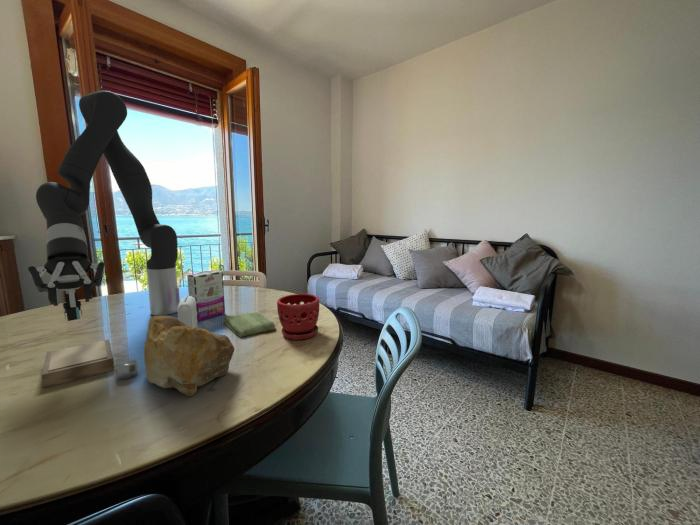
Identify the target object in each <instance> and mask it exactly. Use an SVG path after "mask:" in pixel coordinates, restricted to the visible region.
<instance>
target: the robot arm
mask: <svg viewBox="0 0 700 525" xmlns="http://www.w3.org/2000/svg"><path fill="white" fill-rule="evenodd" d="M78 108H79V111H80V113H81V115H82V117H83V119H84V121H85V123H86V124H87V125H86V126H85V129H84V130H83V131H82V133H80V135H78V137H77V138H76V139H75V140H74V142H72V143H71V145H70V146H69V148H68V149H67V151H66V153H65V154H64V156H63V158H62V160H61V162H60V165H59V167H58V169H57V175H58V176H59V177H60V178H61V179H63V180H64V181H65V182H66V183H67V184H68V185H69V187H70V188H69V187H67V186H66V185H63V184H61V183H59V182H54V181H47V182H44V183H42V184H41V185H40V186H39V187H38V188H37V190H36V194H35V200H36V203H37V206H38V208H39V209H40V212H41V213H42V216H43V217H44V219H45V221H46V236H45V237H46V238H45V246H46V248H45V249H46V263H44V265H43V266H39V267H36V266H34V265H31V266H28V268H27V270H28V272H29V275H30V278H31V279H32V282H33V284H34V285H35V287H36V289H37V292H38V293H44V292H46V293H47V294H48V296H47V298H48V302H49V304H50V305H53V306H54V307H57V306H59V296H58V289H56V288H55V284H53V282H54V281H56V280H58V277H59V276H64V275H79V278H84V279H85V281H84V286H83V292H84V301H85V303H89V302H90V300H92V299H93V297H94V296H93V290H92V289H93V288H94V287H101V285H102V281H103V277H104V273H105V270H106V266H105V265H106V264H105V262H104V261H99V262H98V263H97V262H96V263H94V262H92V261H91V260H90V258H89V252H88V243H87V237H86V234H85V228H84V220H83V217H82V215H84V214H85V213H86V212H87V210H88V208H89V205H90V201H91V200H90V196H91V194H90V193H91V181H92V179H93V177H94V173H95V171H96V169H97V167H98V164H99V162H100V160H101V158H102V156H104V158H105V160H106V162H107V164H108V166H109V168H110V171H111V173H112V175H113V177H114V178H113V179H115V182H116V184H117V187H118V188H119V190H120V192H121V194H122V197H123V198H124V201H125V204H126V205H127V207H128V209H129V211H130V213H131V215H132V218H133V221H134V225H135V227H136V231H137V233H138V236H139V239H140V241H141V243H142V244H143V245H144V246H145V247H147V248H150V258H149V259H148V260H146V275H147V284H148V285H147V287H148V299H149V311H150V315H152V316H168V315H172V314H175V313H178V305H179V303H180V301H181V300H180V288H179V286H178V277H177V267H176V266H177V261H178V255H179V254H178V253H179V252H178V248H179V247H178V244H179V243H178V236H177V232H176V231H175V229H174V228H173V227H172V226H170V225H168V224H162V223H160V221H159V219H158V217H157V215H156V213H155V211H154V206H153V188H152V183H151V181H150V179H149V176H148V174H147V171H146V169H145V167H144V166H143V163H142V162H141V161H140V160H139V158H138V157H137V156H135V154H133V152H132V151H131V150H130V149H129V148H128V147H127V146H126V145H125V143H124V141H123V140H122V137H121V136H120V134H119V132H118V130H119V128H120V127H121V126H122V125H123V124H124V122H125V121H126V119H127V117H128V109H127V106H126V103H125V102H124V99H122V98H121V97H120V96H119V95H117V93H114V92H113V91H109V90H99V91H94V92H91V93H88V94H85V95H83V96H81V97H80V98H79V101H78ZM91 269H93V271H94V272H95V275H94V277H93V279H90V278H89V276H88V272H89V271H90V270H91ZM45 272H46V273H48V275H50V279H49V282H48V283H44V281H43V279H42V277H43V276H44V273H45Z"/></svg>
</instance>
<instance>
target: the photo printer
mask: <svg viewBox="0 0 700 525" xmlns="http://www.w3.org/2000/svg"><path fill="white" fill-rule="evenodd" d="M177 319H178V320H179V321H181V322H182V323H184V324H185V325H186V326H188V327H190V328H195V327H198V326H199V325H198V321H197V310H196V300H195V298H194V297H192V296H189V295H188V296H187V295H186V296H184V297H182V298H181V300H180V303H179V305H178V312H177Z"/></svg>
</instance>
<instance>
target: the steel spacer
mask: <svg viewBox="0 0 700 525" xmlns="http://www.w3.org/2000/svg"><path fill="white" fill-rule="evenodd" d="M137 361H138V360H135V359H128V360H123V361H120V362H118V363H116V364H114V370H115V378H116V380H117V381H127V380H130V379H133V378H135V377H137V375H138V374H139V373H138V372H139V371H138V364H137V363H138V362H137Z"/></svg>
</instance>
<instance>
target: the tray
mask: <svg viewBox="0 0 700 525" xmlns="http://www.w3.org/2000/svg"><path fill="white" fill-rule="evenodd" d="M114 370H115V363H114V356H113V351H112V347H111V342H110V339H104V340H100V341H95V342H94V341H93V342H90V343H85V344H79V345H74V346H69V347H65V348H59V349H55V350H49V351H46V354H45V359H44V362H43V367H42V371H41V380H42V381H41V382H42V388H43V389H46V388H49V387H52V386H56V385H57V386H58V385H61V384H65V383H69V382H72V381H76V380H80V379H83V378H88V377H92V376H95V375H100V374H103V373H106V372H112V371H114Z"/></svg>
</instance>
